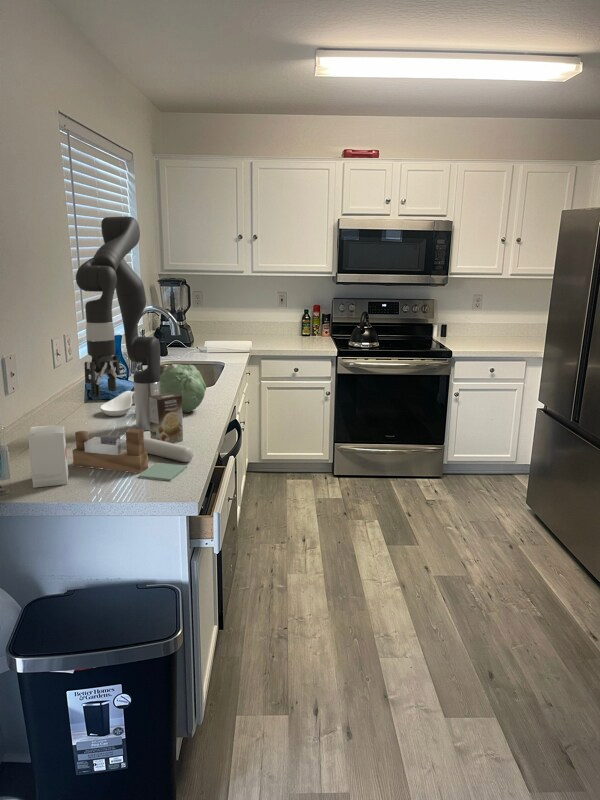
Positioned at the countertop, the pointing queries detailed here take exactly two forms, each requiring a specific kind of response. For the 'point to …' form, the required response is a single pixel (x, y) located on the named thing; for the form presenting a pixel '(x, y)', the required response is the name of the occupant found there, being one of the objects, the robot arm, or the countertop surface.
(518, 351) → the countertop surface
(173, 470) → the mat
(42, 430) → the supplement box
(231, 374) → the countertop surface
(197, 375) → the cabbage
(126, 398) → the spoon rest
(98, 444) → the lever cap
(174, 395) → the coffee box
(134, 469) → the body
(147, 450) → the tube
